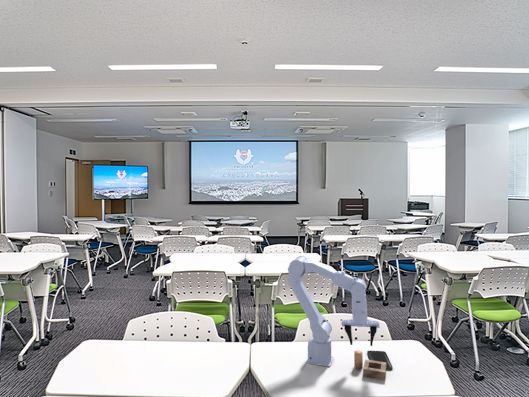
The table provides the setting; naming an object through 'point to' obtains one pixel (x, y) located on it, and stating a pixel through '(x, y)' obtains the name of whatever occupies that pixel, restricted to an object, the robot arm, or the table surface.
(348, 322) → the robot arm
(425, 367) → the table surface
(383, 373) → the socket block
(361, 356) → the peg
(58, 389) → the table surface
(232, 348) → the table surface
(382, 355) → the phone
